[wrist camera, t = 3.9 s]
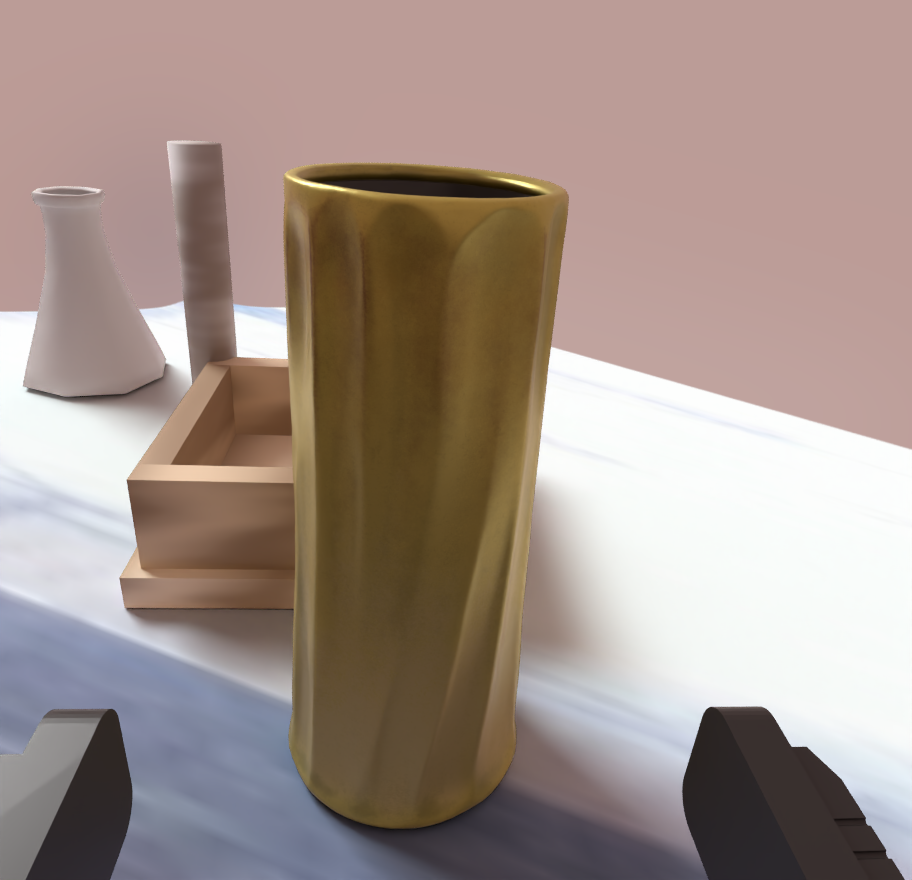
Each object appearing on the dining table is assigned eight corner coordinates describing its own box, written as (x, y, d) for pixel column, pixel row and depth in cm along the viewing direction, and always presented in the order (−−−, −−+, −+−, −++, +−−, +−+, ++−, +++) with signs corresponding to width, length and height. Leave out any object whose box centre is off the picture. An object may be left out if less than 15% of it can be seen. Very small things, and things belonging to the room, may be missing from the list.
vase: (239, 742, 19) (183, 165, 13) (391, 623, 23) (406, 156, 17) (421, 887, 16) (468, 218, 9) (555, 717, 20) (647, 188, 14)
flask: (187, 359, 44) (168, 186, 39) (135, 406, 37) (106, 206, 33) (68, 350, 44) (36, 177, 39) (-4, 396, 37) (-52, 194, 33)
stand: (108, 607, 23) (27, 176, 17) (204, 434, 35) (174, 139, 29) (491, 609, 24) (535, 205, 18) (462, 441, 36) (483, 158, 30)
